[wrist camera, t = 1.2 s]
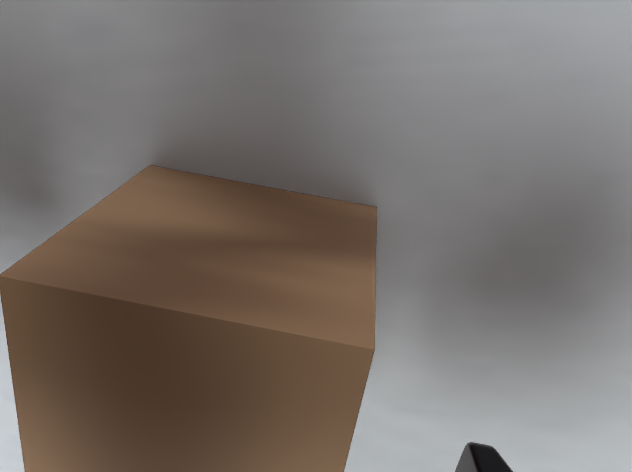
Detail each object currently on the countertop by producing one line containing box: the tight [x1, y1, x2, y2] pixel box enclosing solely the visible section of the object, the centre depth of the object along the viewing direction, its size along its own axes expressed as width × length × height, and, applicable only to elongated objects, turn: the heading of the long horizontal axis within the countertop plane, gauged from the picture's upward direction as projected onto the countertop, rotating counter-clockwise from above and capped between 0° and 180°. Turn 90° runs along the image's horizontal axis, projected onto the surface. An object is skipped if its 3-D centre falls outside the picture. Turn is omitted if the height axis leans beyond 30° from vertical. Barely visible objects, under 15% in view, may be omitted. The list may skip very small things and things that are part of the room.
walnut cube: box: [0, 165, 377, 472], centre depth 10 cm, size 5×5×5 cm
